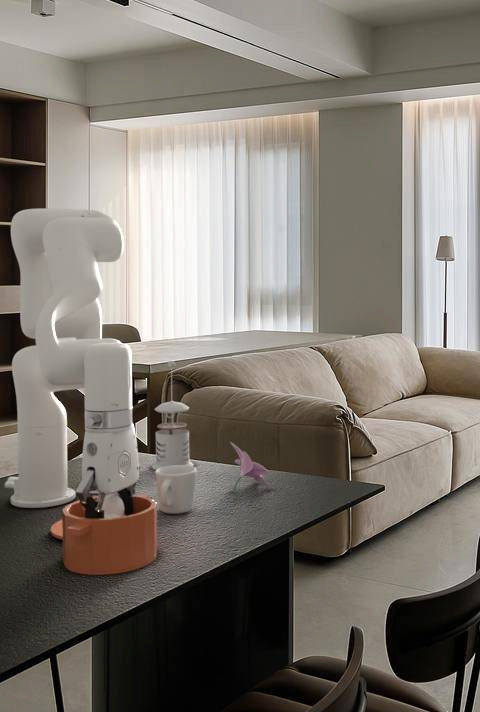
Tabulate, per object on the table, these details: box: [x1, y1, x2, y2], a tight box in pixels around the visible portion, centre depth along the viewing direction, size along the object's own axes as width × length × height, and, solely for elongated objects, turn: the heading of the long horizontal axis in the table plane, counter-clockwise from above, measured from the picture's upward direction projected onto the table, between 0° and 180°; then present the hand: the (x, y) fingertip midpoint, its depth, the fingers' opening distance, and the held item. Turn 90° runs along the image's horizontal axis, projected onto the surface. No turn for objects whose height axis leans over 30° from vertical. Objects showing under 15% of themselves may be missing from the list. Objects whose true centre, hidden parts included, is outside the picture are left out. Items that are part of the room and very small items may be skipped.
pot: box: [61, 494, 158, 576], centre depth 139 cm, size 15×20×8 cm
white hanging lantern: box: [151, 360, 194, 471], centre depth 204 cm, size 10×12×25 cm
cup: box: [154, 465, 198, 515], centre depth 165 cm, size 11×8×8 cm
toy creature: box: [101, 493, 127, 518], centre depth 139 cm, size 5×8×6 cm, turn 0°
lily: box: [229, 441, 271, 493], centre depth 181 cm, size 12×12×10 cm
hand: (110, 526), depth 139 cm, fingers closed on toy creature, 7 cm apart
